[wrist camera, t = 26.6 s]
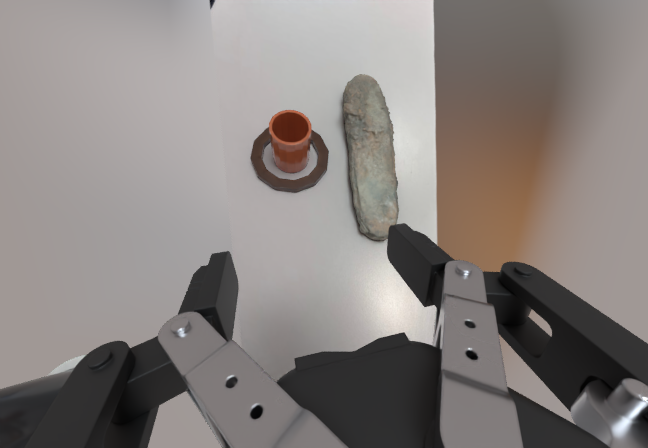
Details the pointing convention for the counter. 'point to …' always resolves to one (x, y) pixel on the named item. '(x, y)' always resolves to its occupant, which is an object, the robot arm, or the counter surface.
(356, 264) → the counter surface
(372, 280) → the counter surface
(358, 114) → the elongated rock
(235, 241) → the counter surface
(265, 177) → the ring
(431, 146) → the counter surface
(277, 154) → the cup
